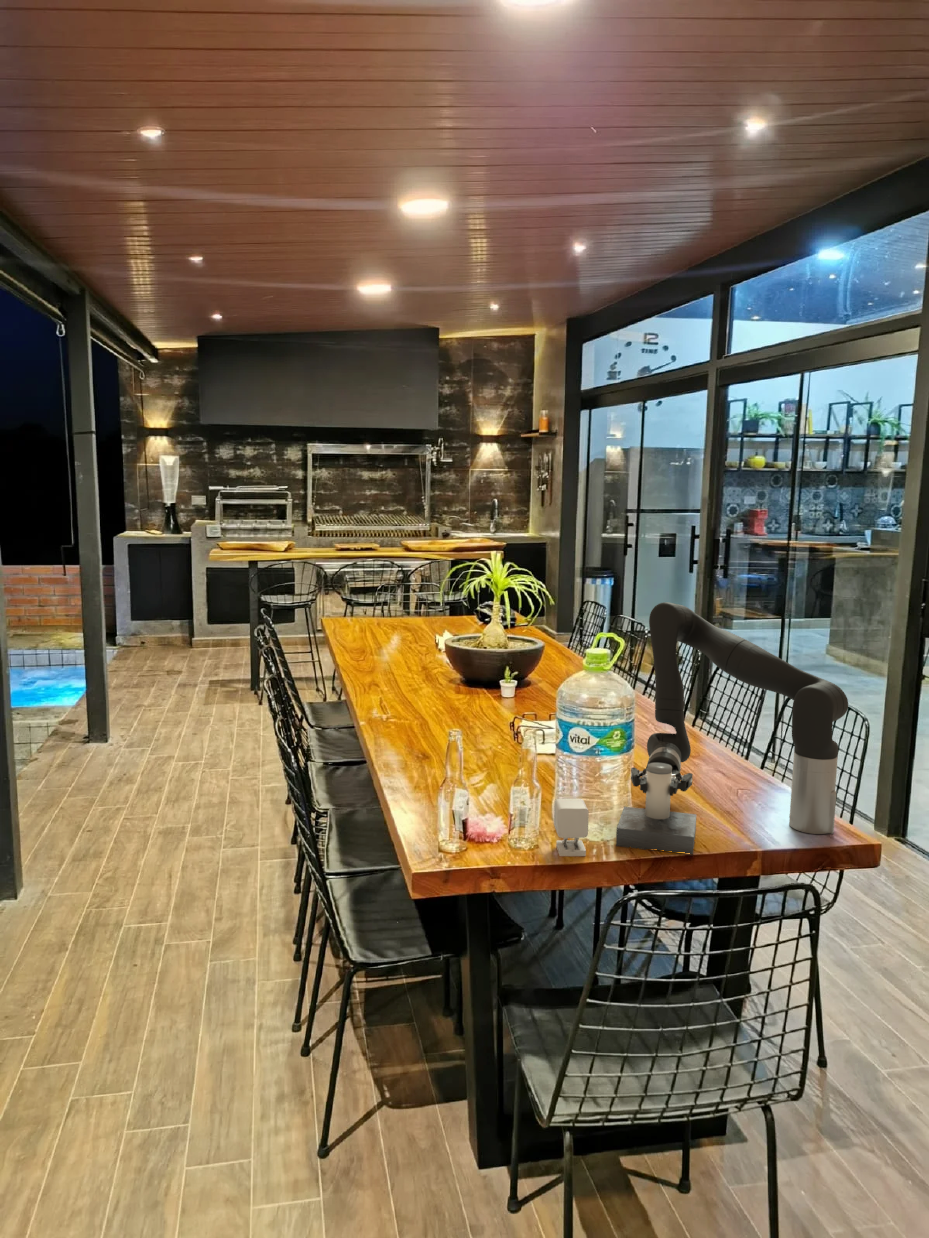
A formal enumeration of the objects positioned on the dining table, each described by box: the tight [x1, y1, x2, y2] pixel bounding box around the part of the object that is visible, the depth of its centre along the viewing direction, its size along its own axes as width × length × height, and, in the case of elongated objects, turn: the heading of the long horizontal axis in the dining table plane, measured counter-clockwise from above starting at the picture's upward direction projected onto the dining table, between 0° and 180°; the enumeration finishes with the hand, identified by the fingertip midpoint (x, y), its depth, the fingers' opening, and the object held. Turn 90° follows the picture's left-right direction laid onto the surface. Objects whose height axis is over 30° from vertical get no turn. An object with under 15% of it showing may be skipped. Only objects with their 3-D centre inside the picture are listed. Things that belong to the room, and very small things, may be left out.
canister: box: [645, 763, 672, 819], centre depth 201 cm, size 5×5×11 cm
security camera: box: [553, 798, 590, 857], centre depth 195 cm, size 6×7×10 cm
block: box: [615, 806, 697, 855], centre depth 202 cm, size 16×14×4 cm
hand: (658, 789), depth 198 cm, fingers closed on canister, 5 cm apart
